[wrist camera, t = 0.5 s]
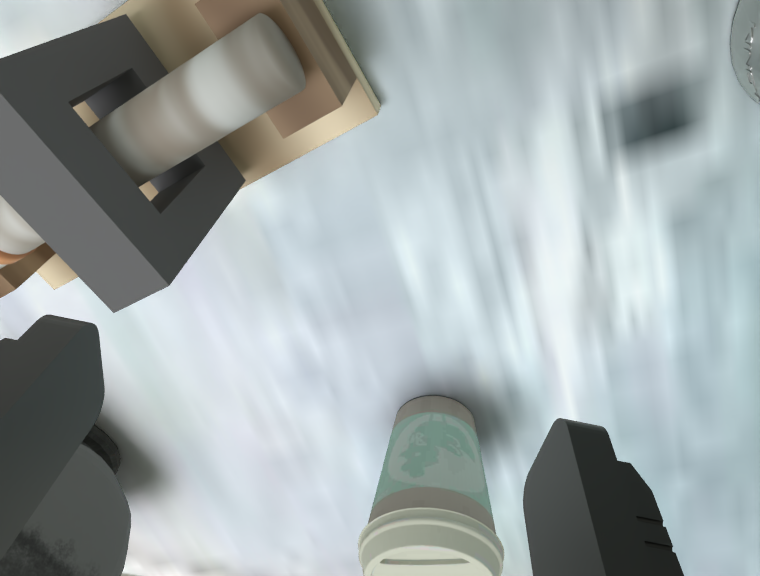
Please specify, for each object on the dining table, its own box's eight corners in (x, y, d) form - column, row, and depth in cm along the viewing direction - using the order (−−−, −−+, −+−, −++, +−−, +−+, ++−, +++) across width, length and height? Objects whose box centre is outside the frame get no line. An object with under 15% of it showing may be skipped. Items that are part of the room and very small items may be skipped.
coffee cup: (515, 405, 40) (535, 570, 30) (462, 474, 45) (464, 636, 35) (402, 364, 39) (386, 521, 29) (360, 439, 44) (333, 596, 34)
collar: (125, 13, 26) (-23, 67, 18) (246, 180, 30) (169, 285, 22) (80, 47, 27) (-80, 112, 19) (202, 204, 31) (113, 312, 23)
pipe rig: (267, -99, 25) (188, -97, 18) (380, 105, 29) (356, 176, 22) (-59, 147, 33) (-207, 219, 26) (67, 276, 38) (-28, 370, 30)
